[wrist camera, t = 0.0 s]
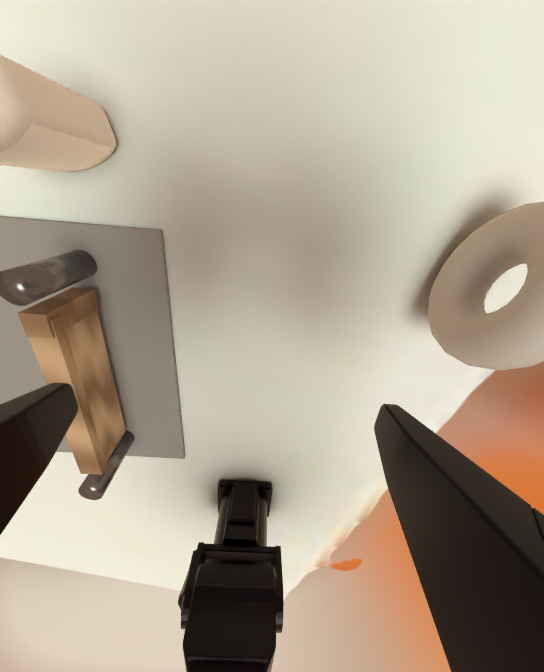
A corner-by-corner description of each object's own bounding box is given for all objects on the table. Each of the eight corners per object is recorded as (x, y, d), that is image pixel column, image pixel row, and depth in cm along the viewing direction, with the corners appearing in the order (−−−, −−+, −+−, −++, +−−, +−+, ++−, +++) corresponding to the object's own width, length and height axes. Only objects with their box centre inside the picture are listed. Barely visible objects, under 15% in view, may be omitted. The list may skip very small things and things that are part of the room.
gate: (128, 431, 27) (100, 476, 23) (110, 430, 27) (79, 475, 23) (95, 289, 20) (46, 314, 16) (71, 287, 20) (15, 312, 16)
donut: (433, 330, 23) (533, 414, 14) (398, 317, 23) (479, 396, 14) (520, 209, 19) (741, 222, 10) (479, 190, 18) (675, 185, 9)
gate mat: (185, 455, 31) (184, 458, 30) (-16, 444, 30) (-19, 447, 29) (162, 230, 19) (160, 230, 19) (-159, 202, 19) (-167, 203, 18)
